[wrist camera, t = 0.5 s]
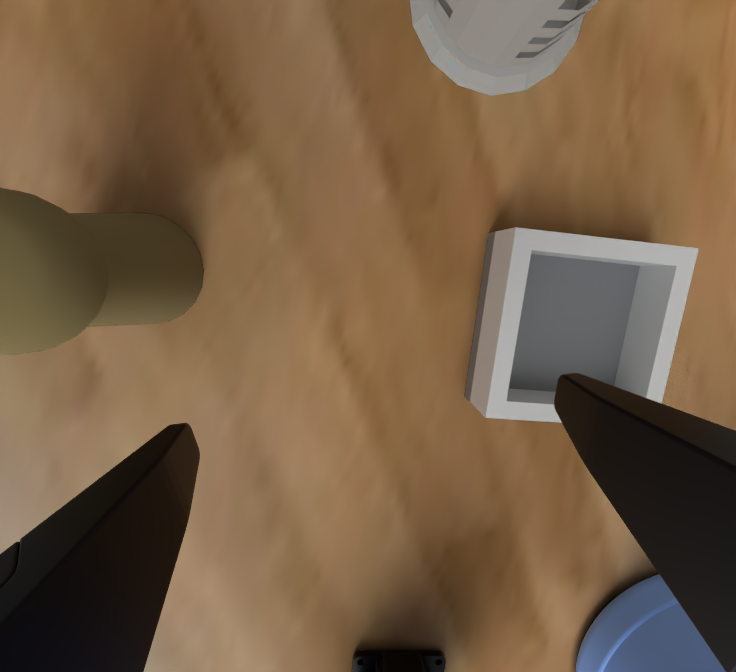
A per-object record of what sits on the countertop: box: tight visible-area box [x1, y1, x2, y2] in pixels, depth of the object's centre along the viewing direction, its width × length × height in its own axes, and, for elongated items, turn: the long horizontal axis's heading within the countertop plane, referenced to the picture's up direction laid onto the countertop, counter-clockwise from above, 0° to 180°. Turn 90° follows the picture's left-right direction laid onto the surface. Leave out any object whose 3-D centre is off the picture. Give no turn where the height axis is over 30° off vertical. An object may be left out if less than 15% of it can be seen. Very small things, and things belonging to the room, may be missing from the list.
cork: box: [0, 188, 204, 355], centre depth 16 cm, size 6×6×11 cm
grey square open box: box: [464, 227, 699, 423], centre depth 22 cm, size 10×10×4 cm
